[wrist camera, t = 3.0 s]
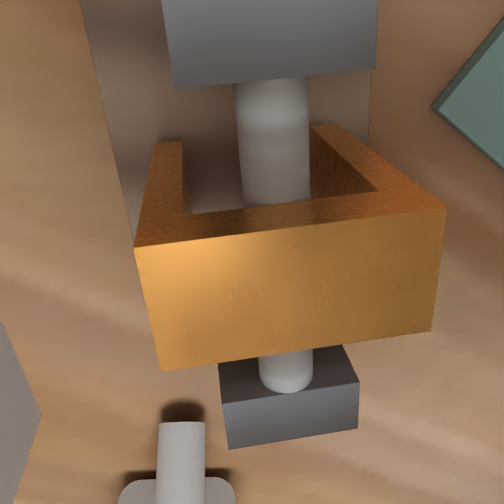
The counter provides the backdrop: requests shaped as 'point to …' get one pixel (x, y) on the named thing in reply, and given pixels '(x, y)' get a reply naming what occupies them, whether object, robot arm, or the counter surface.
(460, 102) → the mat
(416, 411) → the counter surface
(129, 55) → the crossbar stand
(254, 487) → the counter surface
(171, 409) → the counter surface
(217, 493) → the white joystick
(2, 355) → the robot arm
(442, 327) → the counter surface
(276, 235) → the orange notched block
